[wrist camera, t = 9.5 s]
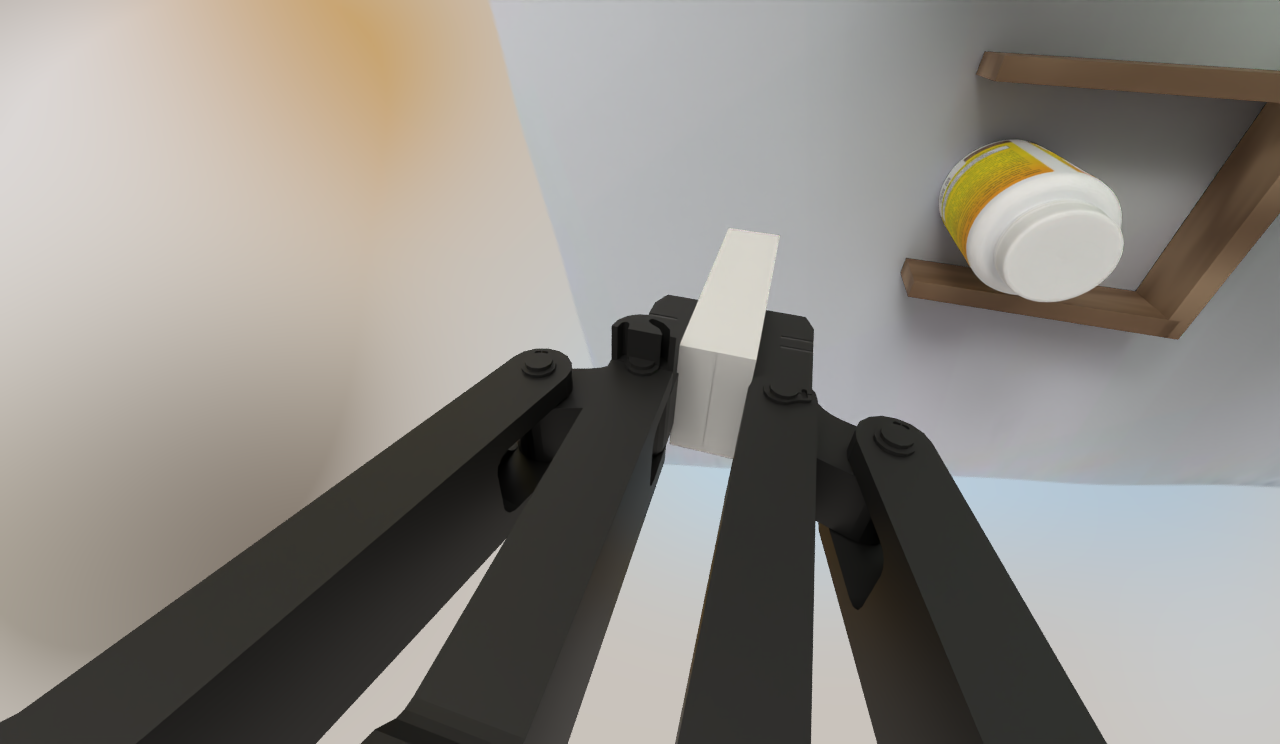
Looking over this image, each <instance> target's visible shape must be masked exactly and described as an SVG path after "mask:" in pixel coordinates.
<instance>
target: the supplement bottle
mask: <svg viewBox="0 0 1280 744" xmlns="http://www.w3.org/2000/svg"><path fill="white" fill-rule="evenodd" d="M939 212H940V216H941V218H942V221H943V223H944V225H945V227H946V228H947V230H948V232H949V233H950V235H951V236H952V238H953V240H954V242H955V243H956V245H957V246H958V248H959V250H960V251H961V253H962V254H963V256H964V257H965V259H966V261H967V263H968V265H969V266H970V268H971V269H972V271H973V272H974V273H975V275H976V276H977V277H978V278H979V279H980V280H981V281H982V282H983V283H985V284H986V285H987V286H989V287H991V288H993V289H995V290H997V291H1000V292H1003V293H1008V294H1013V295H1019V296H1021V297H1023V298H1025V299H1028V300H1031V301H1037V302H1057V301H1063V300H1067V299H1071V298H1074V297H1077V296H1079V295H1082V294H1084V293H1086V292H1088V291H1090V290H1091V289H1093V288H1094V287H1096V286H1097V285H1099V284H1100V283H1101V282H1102V281H1104V280H1105V279H1106V278H1107V277H1108V276H1109V275H1110V274H1111V273H1112V271H1113V270H1114V269H1115V267H1116V266H1117V264H1118V262H1119V260H1120V258H1121V255H1122V252H1123V246H1124V241H1123V235H1122V232H1121V225H1122V212H1121V206H1120V203H1119V201H1118V199H1117V197H1116V195H1115V194H1114V193H1113V191H1112V190H1111V189H1110V188H1109V187H1108V186H1107V185H1106V184H1104V183H1103V182H1102V181H1100V180H1099V179H1097V178H1096V177H1094V176H1092V175H1090V174H1089V173H1087V172H1085V171H1083V170H1082V169H1080V168H1078V167H1077V166H1075V165H1073V164H1071V163H1070V162H1068V161H1067V160H1065V159H1063V158H1061V157H1059V156H1058V155H1056V154H1054V153H1053V152H1051V151H1049V150H1047V149H1045V148H1043V147H1042V146H1040V145H1038V144H1035V143H1033V142H1029V141H1025V140H1017V139H1015V140H1002V141H998V142H994V143H990V144H988V145H985V146H983V147H980V148H978V149H977V150H975V151H973V152H971V153H970V154H968V155H967V156H966V157H964V158H963V159H962V160H961V161H960V162H959V163H958V164H957V165H956V166H955V167H954V168H953V169H952V170H951V172H950V173H949V174H948V176H947V178H946V179H945V181H944V183H943V186H942V188H941V191H940V196H939Z"/></svg>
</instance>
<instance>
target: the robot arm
mask: <svg viewBox="0 0 1280 744" xmlns="http://www.w3.org/2000/svg"><path fill="white" fill-rule="evenodd" d="M779 238H780V235H774V234H767V233H760V232H753V231H746V230H739V229H732V228H729V229H728V231H727V233H726V236H725V238H724V241H723V243H722V245H721V248H720V250H719V252H718V255H717V257H716V260H715V262H714V264H713V267H712V269H711V271H710V274H709V276H708V279H707V281H706V283H705V286H704V288H703V291H702V293H701V295H700V298H699V300H695V299H690V298H684V297H678V296H672V295H667V296H665V297H664V298H662V299H660V300H659V301H657V302H655V304H654V306H653V308H652V309H651V311H650V313H649V315H641V314H639V315H632V316H627V317H624V318H622V319H619V320H617V321H616V322H615V323H614V324H613V325H612V360H611V361H610V363H609V365H608V366H606V367H602V368H592V369H572V363H571V361H570V360H569V358H568V356H566V355H564V354H563V353H561V352H560V351H556V350H552V349H533V350H529V351H524V352H523V353H520V354H518V355H516V356H515V357H513V358H512V359H510V360H509V361H507V362H506V363H505V364H503V365H502V366H501V367H499V368H498V369H496V370H495V371H494V372H492V373H491V374H489V375H488V376H487V377H485V378H484V379H482V380H481V381H480V382H478V383H477V384H475V385H474V386H473V387H472V388H470V389H469V390H467V391H466V392H464V393H463V394H462V395H460V396H459V397H457V398H456V399H455V400H453V401H452V402H451V403H449V404H448V405H446V406H445V407H443V408H442V409H441V410H439V411H438V412H437V413H435V414H434V415H432V416H431V417H430V418H428V419H427V420H425V421H424V422H423V423H421V424H420V425H419V426H417V427H416V428H414V429H413V430H411V431H410V432H409V433H407V434H406V435H405V436H403V437H402V438H400V439H399V440H398V441H396V442H395V443H393V444H392V445H391V446H389V447H388V448H387V449H385V450H384V451H382V452H381V453H380V454H378V455H377V456H375V457H374V458H373V459H371V460H370V461H369V462H367V463H366V464H364V465H363V466H361V467H360V468H359V469H357V470H356V471H354V472H353V473H352V474H350V475H349V476H347V477H346V478H345V479H343V480H342V481H341V482H339V483H338V484H336V485H335V486H334V487H332V488H331V489H329V490H328V491H327V492H325V493H324V494H323V495H321V496H320V497H318V498H317V499H316V500H314V501H313V502H312V503H310V504H309V505H307V506H306V507H304V508H303V509H302V510H300V511H299V512H297V513H296V514H295V515H293V516H292V517H291V518H289V519H288V520H286V521H285V522H284V523H282V524H281V525H279V526H278V527H277V528H275V529H274V530H272V531H271V532H270V533H268V534H267V535H266V536H264V537H263V538H262V539H260V540H259V541H257V542H256V543H254V544H253V545H252V546H250V547H249V548H247V549H246V550H245V551H243V552H242V553H240V554H239V555H238V556H236V557H235V558H233V559H232V560H231V561H229V562H228V563H227V564H225V565H224V566H222V567H221V568H220V569H218V570H217V571H215V572H214V573H213V574H211V575H210V576H208V577H207V578H206V579H204V580H203V581H202V582H200V583H199V584H197V585H196V586H194V587H193V588H192V589H190V590H189V591H188V592H186V593H185V594H183V595H182V596H181V597H179V598H178V599H176V600H175V601H174V602H172V603H171V604H170V605H168V606H167V607H165V608H164V609H162V610H161V611H160V612H158V613H157V614H156V615H154V616H153V617H151V618H150V619H149V620H147V621H146V622H145V623H143V624H142V625H140V626H139V627H138V628H136V629H135V630H133V631H132V632H130V633H129V634H128V635H126V636H125V637H124V638H122V639H121V640H119V641H118V642H117V643H115V644H114V645H112V646H111V647H110V648H108V649H107V650H105V651H104V652H103V653H101V654H100V655H99V656H97V657H96V658H94V659H93V660H92V661H90V662H89V663H87V664H86V665H85V666H83V667H82V668H80V669H79V670H78V671H76V672H75V673H73V674H72V675H71V676H69V677H68V678H67V679H65V680H64V681H62V682H61V683H60V684H58V685H57V686H55V687H54V688H53V689H51V690H50V691H48V692H47V693H46V694H44V695H43V696H42V697H40V698H39V699H37V700H36V701H35V702H33V703H32V704H30V705H29V706H28V707H26V708H25V709H23V710H22V711H21V712H19V713H17V714H16V715H14V716H12V717H10V718H8V719H6V720H4V721H2V722H0V744H316V743H317V742H318V741H319V740H320V739H321V737H322V736H323V735H324V734H325V733H326V732H327V731H328V730H329V729H330V728H331V727H332V726H333V724H334V723H335V722H336V721H337V720H338V719H339V718H340V717H341V716H342V715H343V714H344V713H345V712H346V711H347V709H348V708H349V707H350V706H351V705H352V704H353V703H354V702H355V701H356V700H357V699H358V697H360V695H361V694H362V693H363V692H364V691H365V690H366V689H367V688H368V687H369V686H370V685H371V684H372V683H373V681H374V680H375V679H376V678H377V677H378V676H379V675H380V674H381V673H382V672H383V671H384V670H385V669H386V667H387V666H388V665H389V664H390V663H391V662H392V661H393V660H394V659H395V658H396V657H397V655H399V653H400V652H401V651H402V650H403V649H404V648H405V647H406V646H407V645H408V644H409V643H410V642H411V641H412V639H413V638H414V637H415V636H416V635H417V634H418V633H419V632H420V631H421V629H423V628H424V627H425V625H426V624H427V623H428V622H429V621H430V620H431V619H432V618H433V617H434V616H435V615H436V614H437V612H438V611H439V610H440V609H441V608H442V607H443V606H444V605H445V604H446V603H447V602H448V601H449V600H450V598H451V597H452V596H453V595H454V594H455V593H456V592H457V591H458V590H459V589H460V588H461V587H462V586H463V584H464V583H465V582H466V581H467V580H468V579H469V578H470V577H471V576H472V575H473V574H474V572H476V570H477V569H478V568H479V567H480V566H481V565H482V564H483V563H484V562H485V560H487V559H488V557H489V556H490V555H491V554H492V553H493V552H494V551H495V550H496V549H497V548H498V547H499V545H501V544H502V542H503V541H504V540H505V539H506V540H505V542H504V543H503V545H502V547H501V549H500V550H499V552H498V554H497V555H496V557H495V559H494V560H493V562H492V564H491V565H490V567H489V569H488V571H487V572H486V574H485V576H484V577H483V579H482V581H481V582H480V584H479V586H478V588H477V589H476V591H475V593H474V594H473V596H472V598H471V599H470V601H469V603H468V605H467V606H466V608H465V610H464V611H463V613H462V615H461V617H460V618H459V620H458V622H457V623H456V625H455V627H454V628H453V630H452V632H451V634H450V635H449V637H448V639H447V640H446V642H445V644H444V646H443V647H442V649H441V651H440V652H439V654H438V656H437V657H436V659H435V661H434V662H433V664H432V666H431V668H430V669H429V671H428V673H427V675H426V676H425V678H424V680H423V681H422V683H421V685H420V686H419V688H418V690H417V691H416V693H415V695H414V697H413V698H412V699H411V701H410V702H409V704H408V705H407V707H406V708H405V710H404V711H403V712H402V713H401V714H400V715H399V716H398V717H397V718H396V719H394V720H392V721H390V722H388V723H386V724H384V725H382V726H381V727H379V728H377V729H375V730H374V731H373V732H372V733H371V734H370V735H369V736H368V737H367V738H366V739H365V740H364V741H363V742H362V743H361V744H568V741H569V738H570V735H571V732H572V729H573V726H574V723H575V721H576V718H577V715H578V712H579V709H580V706H581V703H582V700H583V697H584V694H585V691H586V688H587V685H588V683H589V679H590V677H591V674H592V671H593V668H594V665H595V662H596V659H597V656H598V653H599V650H600V648H601V645H602V642H603V639H604V636H605V633H606V630H607V627H608V624H609V621H610V618H611V615H612V612H613V609H614V607H615V604H616V601H617V598H618V595H619V592H620V589H621V586H622V583H623V580H624V577H625V575H626V572H627V569H628V566H629V563H630V560H631V557H632V554H633V551H634V548H635V545H636V543H637V540H638V537H639V534H640V531H641V528H642V525H643V522H644V519H645V516H646V513H647V510H648V507H649V505H650V502H651V499H652V496H653V493H654V490H655V487H656V484H657V481H658V478H659V475H660V473H661V469H662V467H663V464H664V460H665V450H666V444H667V441H668V438H669V435H670V444H672V445H676V446H680V447H684V448H689V449H693V450H697V451H701V452H706V453H710V454H714V455H718V456H723V457H727V458H731V459H733V462H732V467H731V471H730V476H729V481H728V486H727V490H726V495H725V499H724V500H725V501H724V506H723V511H722V516H721V520H720V525H719V530H718V535H717V541H716V545H715V550H714V555H713V560H712V565H711V570H710V575H709V580H708V584H707V590H706V594H705V599H704V604H703V609H702V614H701V619H700V624H699V629H698V634H697V639H696V644H695V648H694V653H693V659H692V663H691V668H690V673H689V678H688V683H687V688H686V693H685V698H684V703H683V708H682V712H681V717H680V722H679V727H678V732H677V737H676V742H675V744H811V709H812V661H813V611H814V608H813V607H814V562H815V559H814V558H815V521H817V522H818V524H819V533H820V536H821V540H822V544H823V548H824V551H825V555H826V558H827V562H828V566H829V569H830V573H831V577H832V580H833V584H834V587H835V591H836V595H837V598H838V602H839V606H840V609H841V613H842V616H843V620H844V624H845V627H846V631H847V635H848V638H849V642H850V646H851V649H852V653H853V656H854V660H855V664H856V667H857V671H858V675H859V679H860V682H861V686H862V689H863V693H864V697H865V700H866V704H867V708H868V711H869V715H870V718H871V722H872V726H873V729H874V733H875V737H876V740H877V744H1107V743H1106V741H1105V740H1104V738H1103V736H1102V734H1101V733H1100V731H1099V729H1098V728H1097V726H1096V724H1095V722H1094V721H1093V719H1092V717H1091V716H1090V714H1089V712H1088V710H1087V709H1086V707H1085V705H1084V703H1083V702H1082V700H1081V698H1080V697H1079V695H1078V693H1077V691H1076V690H1075V688H1074V686H1073V685H1072V683H1071V681H1070V679H1069V678H1068V676H1067V675H1066V673H1065V671H1064V669H1063V667H1062V666H1061V664H1060V662H1059V661H1058V659H1057V657H1056V655H1055V654H1054V652H1053V650H1052V648H1051V647H1050V645H1049V643H1048V642H1047V640H1046V638H1045V637H1044V635H1043V633H1042V631H1041V629H1040V628H1039V626H1038V624H1037V623H1036V621H1035V619H1034V618H1033V616H1032V614H1031V612H1030V611H1029V609H1028V607H1027V605H1026V604H1025V602H1024V600H1023V598H1022V597H1021V595H1020V593H1019V592H1018V590H1017V588H1016V586H1015V585H1014V583H1013V581H1012V580H1011V578H1010V576H1009V574H1008V573H1007V571H1006V569H1005V567H1004V566H1003V564H1002V562H1001V561H1000V559H999V557H998V556H997V554H996V552H995V550H994V549H993V547H992V545H991V543H990V542H989V540H988V538H987V537H986V535H985V533H984V531H983V530H982V528H981V526H980V524H979V523H978V521H977V519H976V518H975V516H974V514H973V513H972V511H971V509H970V507H969V506H968V504H967V502H966V500H965V499H964V497H963V495H962V493H961V492H960V490H959V488H958V487H957V485H956V483H955V481H954V480H953V478H952V476H951V475H950V473H949V471H948V469H947V468H946V466H945V464H944V463H943V461H942V459H941V457H940V456H939V454H938V452H937V450H936V449H935V447H934V445H933V444H932V442H931V441H930V440H929V439H928V438H927V437H926V435H925V434H924V433H923V432H921V431H920V430H918V429H917V428H915V427H914V426H912V425H911V424H908V423H906V422H904V421H901V420H899V419H896V418H890V417H885V416H875V417H868V418H866V419H864V420H862V421H860V422H859V424H858V425H857V426H854V425H852V424H850V423H847V422H845V421H843V420H841V419H839V418H837V417H835V416H833V415H831V414H830V413H828V412H827V411H825V410H824V409H823V408H822V407H821V406H820V405H819V404H818V400H817V397H816V394H815V392H814V391H813V390H812V371H813V339H814V329H813V327H812V326H811V324H810V323H809V321H808V320H807V318H806V317H802V316H796V315H791V314H785V313H779V312H773V311H767V310H766V307H767V301H768V296H769V291H770V285H771V280H772V275H773V270H774V264H775V259H776V254H777V248H778V243H779ZM670 432H671V434H670Z"/></svg>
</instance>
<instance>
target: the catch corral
mask: <svg viewBox="0 0 1280 744" xmlns="http://www.w3.org/2000/svg"><path fill="white" fill-rule="evenodd" d="M976 75H979V76H982V77H984V78H987V79H990V80H993V81H999V82H1012V83H1025V84H1038V85H1052V86H1065V87H1078V88H1091V89H1104V90H1117V91H1130V92H1143V93H1156V94H1170V95H1183V96H1196V97H1209V98H1222V99H1235V100H1248V101H1261V102H1267V103H1266V105H1265V106H1264V108H1263V109H1262V110H1261V112H1260V113H1259V115H1258V116H1257V118H1256V119H1255V121H1254V122H1253V123H1252V125H1251V126H1250V128H1249V129H1248V131H1247V132H1246V133H1245V135H1244V136H1243V138H1242V139H1241V141H1240V142H1239V144H1238V145H1237V146H1236V148H1235V149H1234V151H1233V152H1232V154H1231V155H1230V156H1229V158H1228V159H1227V161H1226V162H1225V164H1224V165H1223V167H1222V168H1221V169H1220V171H1219V172H1218V174H1217V175H1216V177H1215V178H1214V179H1213V181H1212V182H1211V184H1210V185H1209V187H1208V188H1207V190H1206V191H1205V192H1204V194H1203V195H1202V197H1201V198H1200V200H1199V201H1198V202H1197V204H1196V205H1195V207H1194V208H1193V210H1192V211H1191V213H1190V214H1189V215H1188V217H1187V218H1186V220H1185V221H1184V223H1183V224H1182V225H1181V227H1180V228H1179V230H1178V231H1177V233H1176V234H1175V236H1174V237H1173V238H1172V240H1171V241H1170V243H1169V244H1168V246H1167V247H1166V248H1165V250H1164V251H1163V253H1162V254H1161V256H1160V257H1159V259H1158V260H1157V261H1156V263H1155V264H1154V266H1153V267H1152V269H1151V270H1150V271H1149V273H1148V274H1147V276H1146V277H1145V279H1144V280H1143V282H1142V283H1141V284H1140V286H1139V287H1138V289H1137V290H1136V291H1129V290H1122V289H1115V288H1108V287H1101V286H1096V287H1094V288H1093V289H1091V290H1090V291H1088V292H1086V293H1084V294H1082V295H1079V296H1077V297H1074V298H1071V299H1067V300H1063V301H1057V302H1037V301H1031V300H1028V299H1025V298H1023V297H1021V296H1019V295H1013V294H1008V293H1003V292H1000V291H997V290H995V289H993V288H991V287H989V286H987V285H986V284H985V283H983V282H982V281H981V280H980V279H979V278H978V277H977V276H976V275H975V273H974V272H973V271H972V269H971V268H970V267H964V266H957V265H950V264H943V263H936V262H929V261H923V260H916V259H909V258H906V260H905V262H904V265H903V267H902V270H901V276H902V279H903V282H904V285H905V288H906V291H907V294H908V297H914V298H921V299H927V300H933V301H939V302H946V303H952V304H958V305H965V306H971V307H977V308H983V309H990V310H996V311H1002V312H1008V313H1015V314H1021V315H1027V316H1033V317H1040V318H1046V319H1052V320H1058V321H1065V322H1071V323H1077V324H1084V325H1090V326H1096V327H1102V328H1109V329H1115V330H1121V331H1127V332H1134V333H1140V334H1146V335H1152V336H1159V337H1165V338H1171V339H1179V338H1180V337H1181V335H1182V334H1183V333H1184V332H1185V330H1186V329H1187V328H1188V327H1189V325H1190V324H1191V323H1192V322H1193V320H1194V319H1195V318H1196V317H1197V315H1198V314H1199V313H1200V312H1201V310H1202V309H1203V308H1204V307H1205V306H1206V304H1207V303H1208V302H1209V301H1210V299H1211V298H1212V297H1213V296H1214V294H1215V293H1216V292H1217V291H1218V289H1219V288H1220V287H1221V286H1222V284H1223V283H1224V282H1225V281H1226V279H1227V278H1228V277H1229V276H1230V274H1231V273H1232V272H1233V271H1234V269H1235V268H1236V267H1237V266H1238V264H1239V263H1240V262H1241V261H1242V259H1243V258H1244V257H1245V256H1246V254H1247V253H1248V252H1249V251H1250V249H1251V248H1252V247H1253V246H1254V244H1255V243H1256V242H1257V241H1258V239H1259V238H1260V237H1261V236H1262V234H1263V233H1264V232H1265V231H1266V229H1267V228H1268V227H1269V226H1270V224H1271V223H1272V222H1273V221H1274V219H1275V218H1276V217H1277V216H1278V214H1279V213H1280V71H1275V70H1260V69H1245V68H1230V67H1214V66H1199V65H1184V64H1169V63H1153V62H1138V61H1123V60H1108V59H1093V58H1077V57H1062V56H1047V55H1032V54H1016V53H1001V52H986V51H985V52H984V55H983V57H982V60H981V63H980V65H979V68H978V71H977V73H976Z"/></svg>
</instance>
